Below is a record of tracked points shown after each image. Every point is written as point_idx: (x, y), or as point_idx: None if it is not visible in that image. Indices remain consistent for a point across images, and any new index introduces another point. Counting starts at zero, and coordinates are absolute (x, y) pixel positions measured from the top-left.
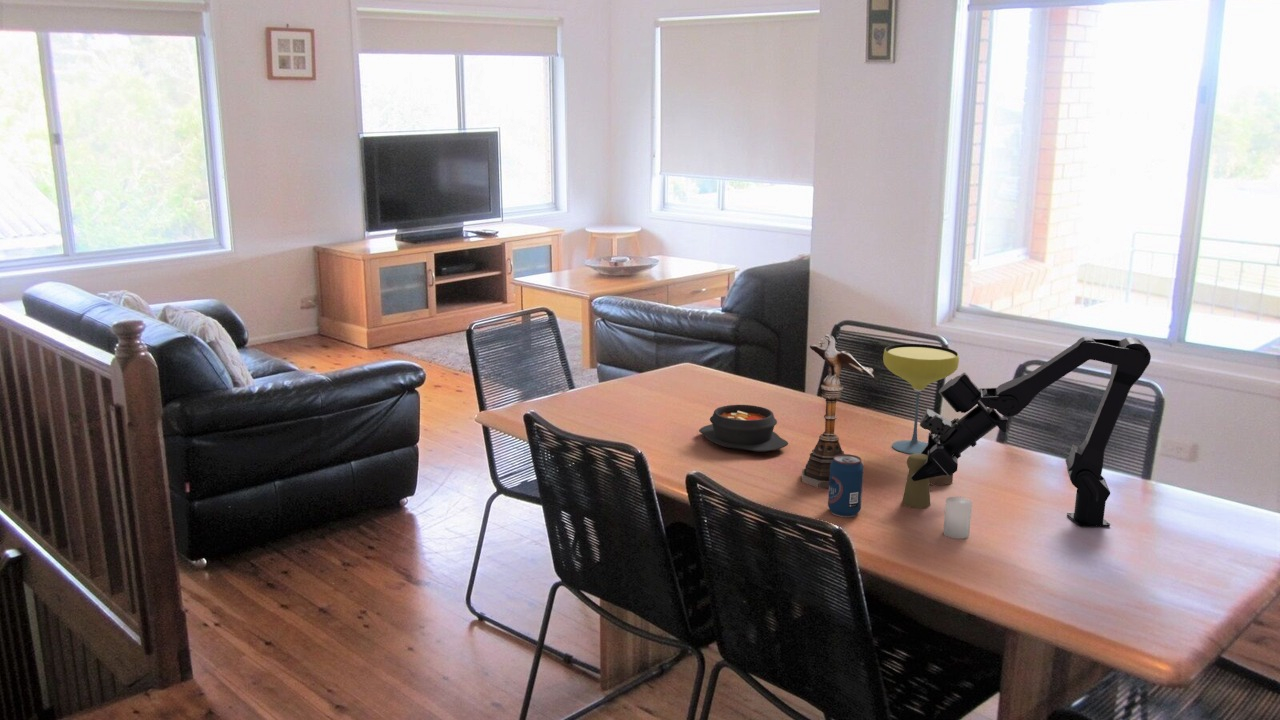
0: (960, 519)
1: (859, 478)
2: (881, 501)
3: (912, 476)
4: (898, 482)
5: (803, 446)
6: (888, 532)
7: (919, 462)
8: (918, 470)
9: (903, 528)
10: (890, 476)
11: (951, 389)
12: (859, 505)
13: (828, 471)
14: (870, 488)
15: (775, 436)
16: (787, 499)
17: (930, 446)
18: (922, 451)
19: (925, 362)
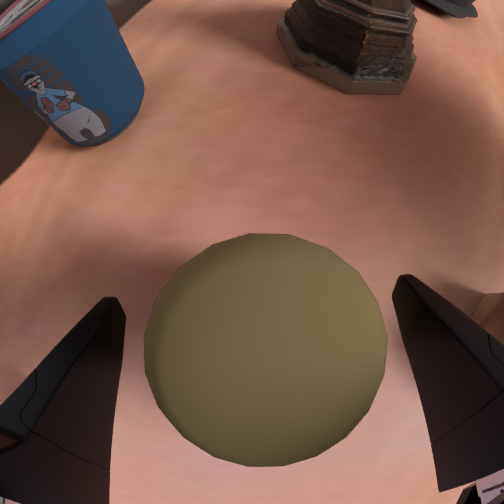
0: None
1: (9, 86)
2: (229, 188)
3: (97, 304)
4: (439, 229)
5: (483, 50)
6: (11, 249)
7: (147, 366)
8: (55, 347)
9: (34, 286)
10: (467, 202)
11: None
12: (67, 137)
13: (300, 14)
14: (346, 143)
15: (462, 10)
16: (173, 13)
17: (500, 418)
18: (472, 346)
19: None
